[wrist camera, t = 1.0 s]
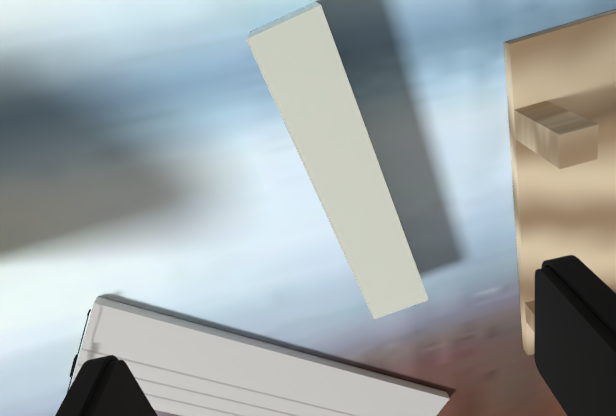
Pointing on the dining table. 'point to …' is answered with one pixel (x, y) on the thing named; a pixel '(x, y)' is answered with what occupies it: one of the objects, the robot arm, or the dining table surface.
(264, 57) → the clay strip
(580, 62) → the beech rack
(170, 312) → the dining table surface
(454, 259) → the dining table surface
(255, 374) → the baseboard molding
